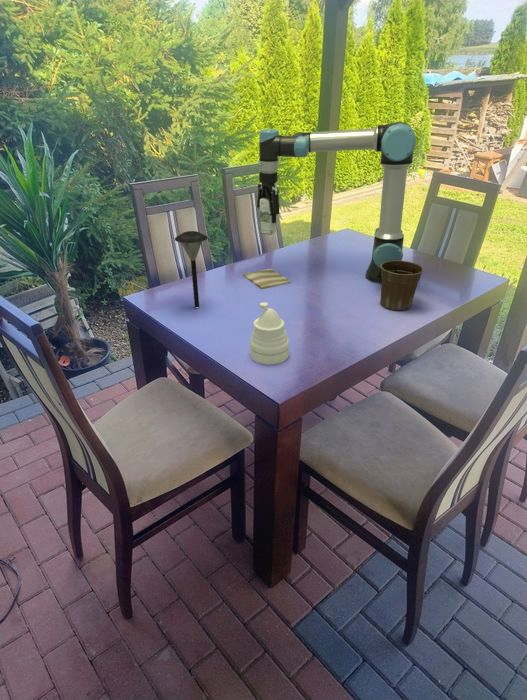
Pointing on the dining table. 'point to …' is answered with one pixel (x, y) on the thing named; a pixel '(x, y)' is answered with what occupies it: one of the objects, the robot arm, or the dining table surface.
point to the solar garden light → (192, 254)
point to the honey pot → (269, 338)
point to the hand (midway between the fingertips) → (267, 227)
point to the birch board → (266, 278)
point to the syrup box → (265, 217)
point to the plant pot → (399, 284)
